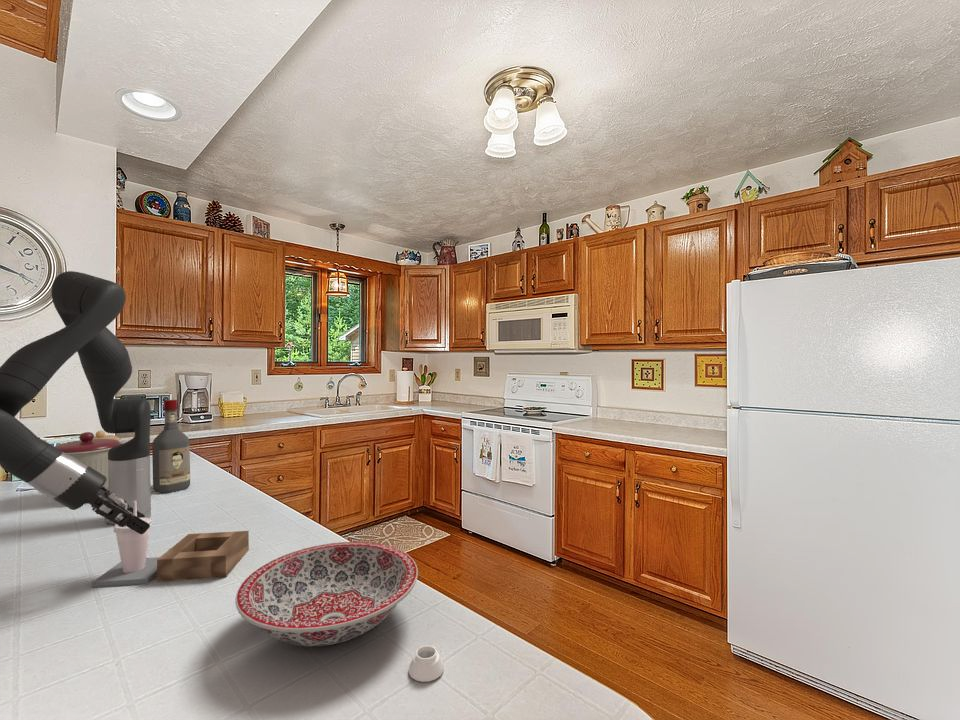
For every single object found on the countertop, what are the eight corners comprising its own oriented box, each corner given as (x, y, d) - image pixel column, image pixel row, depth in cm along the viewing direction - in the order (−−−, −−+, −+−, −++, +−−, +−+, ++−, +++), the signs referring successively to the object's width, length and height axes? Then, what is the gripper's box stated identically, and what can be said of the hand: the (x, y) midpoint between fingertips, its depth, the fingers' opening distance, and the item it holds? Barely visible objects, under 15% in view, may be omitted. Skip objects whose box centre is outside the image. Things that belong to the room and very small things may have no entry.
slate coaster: (92, 587, 90) (92, 582, 90) (124, 563, 100) (124, 559, 100) (147, 583, 92) (147, 578, 92) (173, 560, 102) (173, 556, 102)
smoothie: (160, 562, 99) (158, 497, 98) (135, 576, 92) (133, 507, 92) (133, 561, 99) (131, 496, 99) (106, 575, 93) (104, 506, 93)
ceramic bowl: (191, 657, 70) (190, 605, 70) (320, 570, 97) (319, 533, 97) (352, 708, 60) (351, 648, 59) (445, 595, 87) (445, 554, 87)
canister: (134, 496, 147) (133, 430, 146) (60, 513, 132) (58, 440, 131) (111, 487, 157) (109, 425, 156) (39, 501, 141) (38, 433, 141)
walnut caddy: (157, 581, 92) (156, 559, 92) (188, 553, 105) (188, 534, 105) (226, 577, 94) (225, 555, 94) (248, 549, 107) (248, 530, 107)
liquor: (150, 490, 153) (149, 400, 152) (180, 483, 160) (179, 398, 160) (162, 495, 148) (160, 402, 147) (192, 488, 155) (191, 399, 155)
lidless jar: (407, 685, 64) (443, 683, 64) (407, 664, 64) (443, 662, 64) (410, 661, 69) (443, 659, 69) (410, 642, 69) (443, 640, 69)
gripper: (88, 471, 85) (164, 518, 93) (84, 458, 96) (153, 501, 104) (49, 506, 82) (132, 552, 90) (49, 488, 92) (124, 531, 100)
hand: (143, 524), depth 97 cm, fingers open, 7 cm apart
